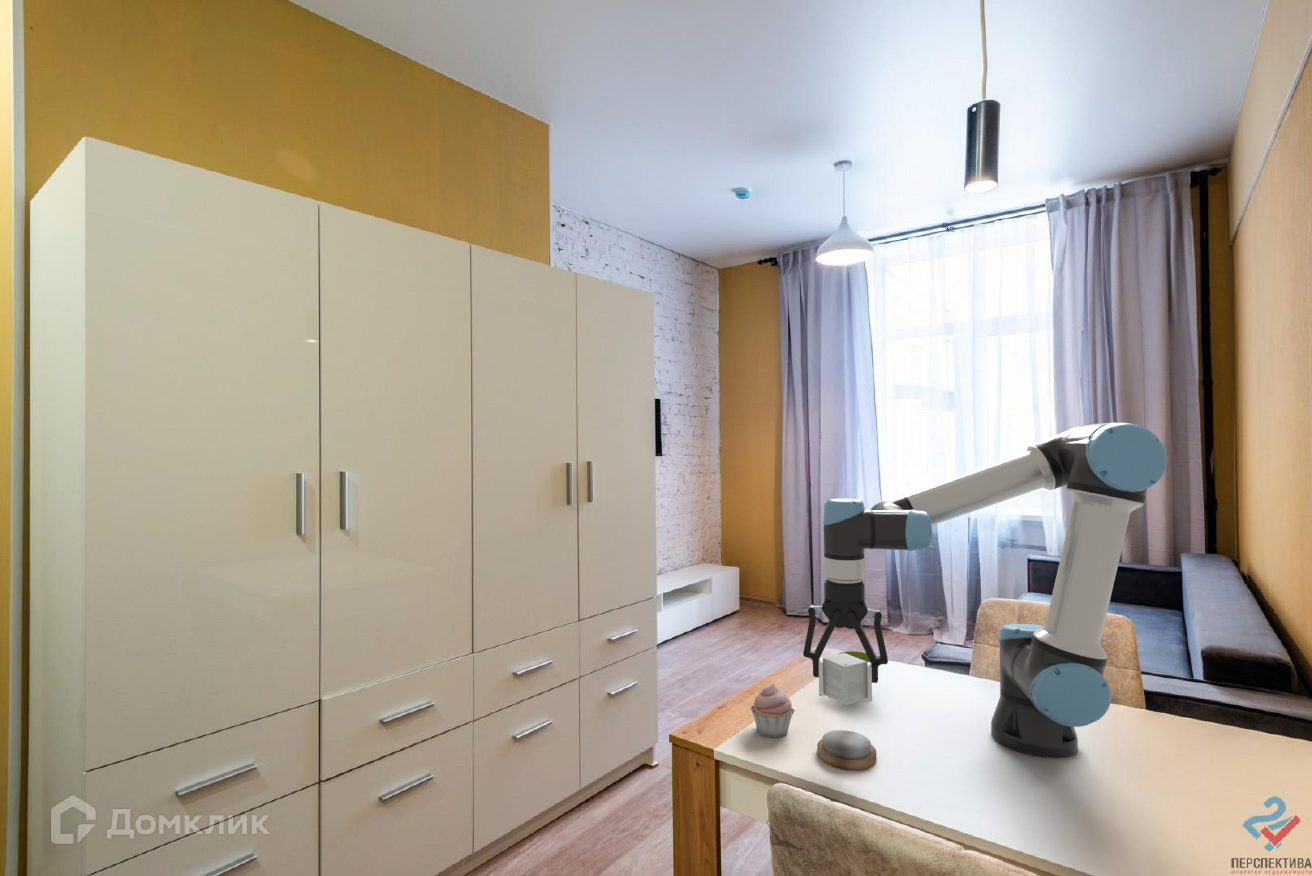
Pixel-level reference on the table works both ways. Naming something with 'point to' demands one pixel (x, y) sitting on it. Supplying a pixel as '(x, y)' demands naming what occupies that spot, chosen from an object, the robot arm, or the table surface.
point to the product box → (845, 678)
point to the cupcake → (772, 712)
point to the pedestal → (846, 750)
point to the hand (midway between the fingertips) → (845, 695)
